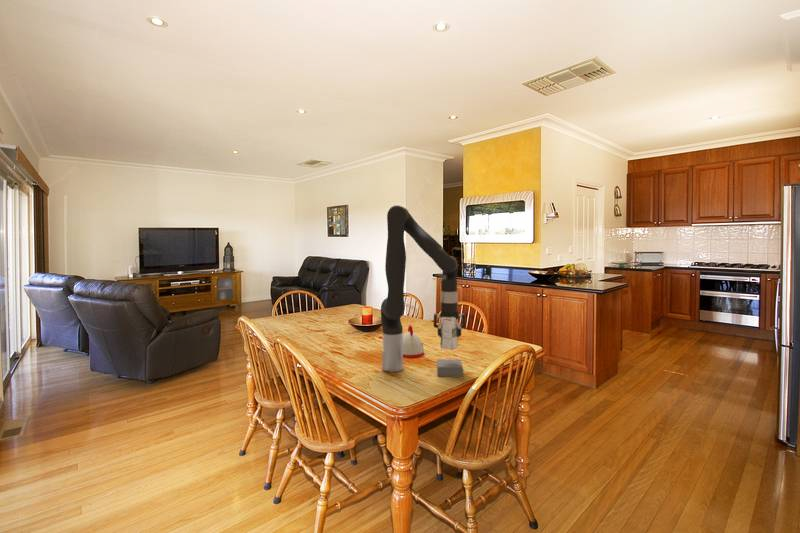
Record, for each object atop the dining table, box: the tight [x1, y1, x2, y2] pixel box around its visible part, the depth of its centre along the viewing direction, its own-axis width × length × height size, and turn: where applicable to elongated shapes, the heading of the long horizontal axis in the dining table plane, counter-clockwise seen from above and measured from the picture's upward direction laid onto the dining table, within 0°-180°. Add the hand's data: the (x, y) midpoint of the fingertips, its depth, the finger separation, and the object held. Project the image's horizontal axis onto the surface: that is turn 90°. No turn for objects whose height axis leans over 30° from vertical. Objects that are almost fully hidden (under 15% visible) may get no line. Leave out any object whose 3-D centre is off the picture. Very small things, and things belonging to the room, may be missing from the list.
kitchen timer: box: [403, 325, 425, 359], centre depth 204 cm, size 14×14×15 cm
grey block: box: [436, 358, 464, 378], centre depth 177 cm, size 11×11×4 cm
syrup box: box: [440, 317, 459, 351], centre depth 176 cm, size 6×6×14 cm
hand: (449, 336), depth 176 cm, fingers closed on syrup box, 8 cm apart
